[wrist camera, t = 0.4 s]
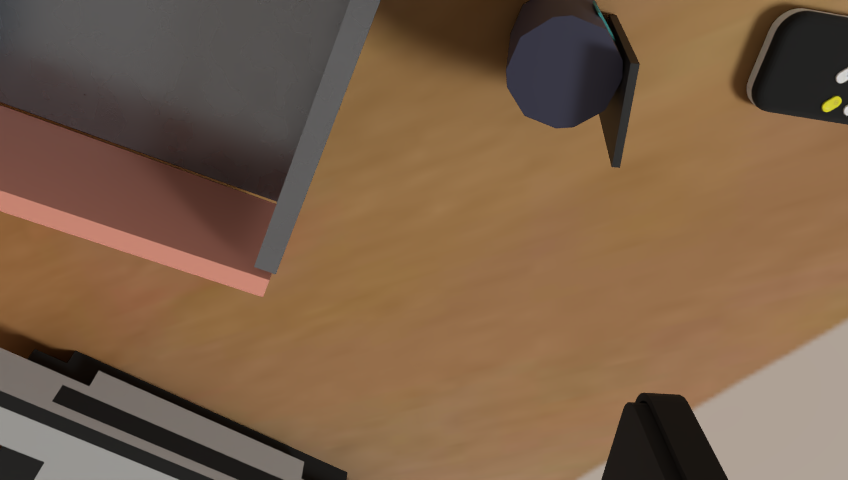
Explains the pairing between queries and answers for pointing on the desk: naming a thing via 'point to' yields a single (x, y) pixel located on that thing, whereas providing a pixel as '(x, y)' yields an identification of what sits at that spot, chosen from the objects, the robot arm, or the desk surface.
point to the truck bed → (194, 83)
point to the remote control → (803, 67)
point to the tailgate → (131, 202)
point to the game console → (126, 430)
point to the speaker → (573, 68)
